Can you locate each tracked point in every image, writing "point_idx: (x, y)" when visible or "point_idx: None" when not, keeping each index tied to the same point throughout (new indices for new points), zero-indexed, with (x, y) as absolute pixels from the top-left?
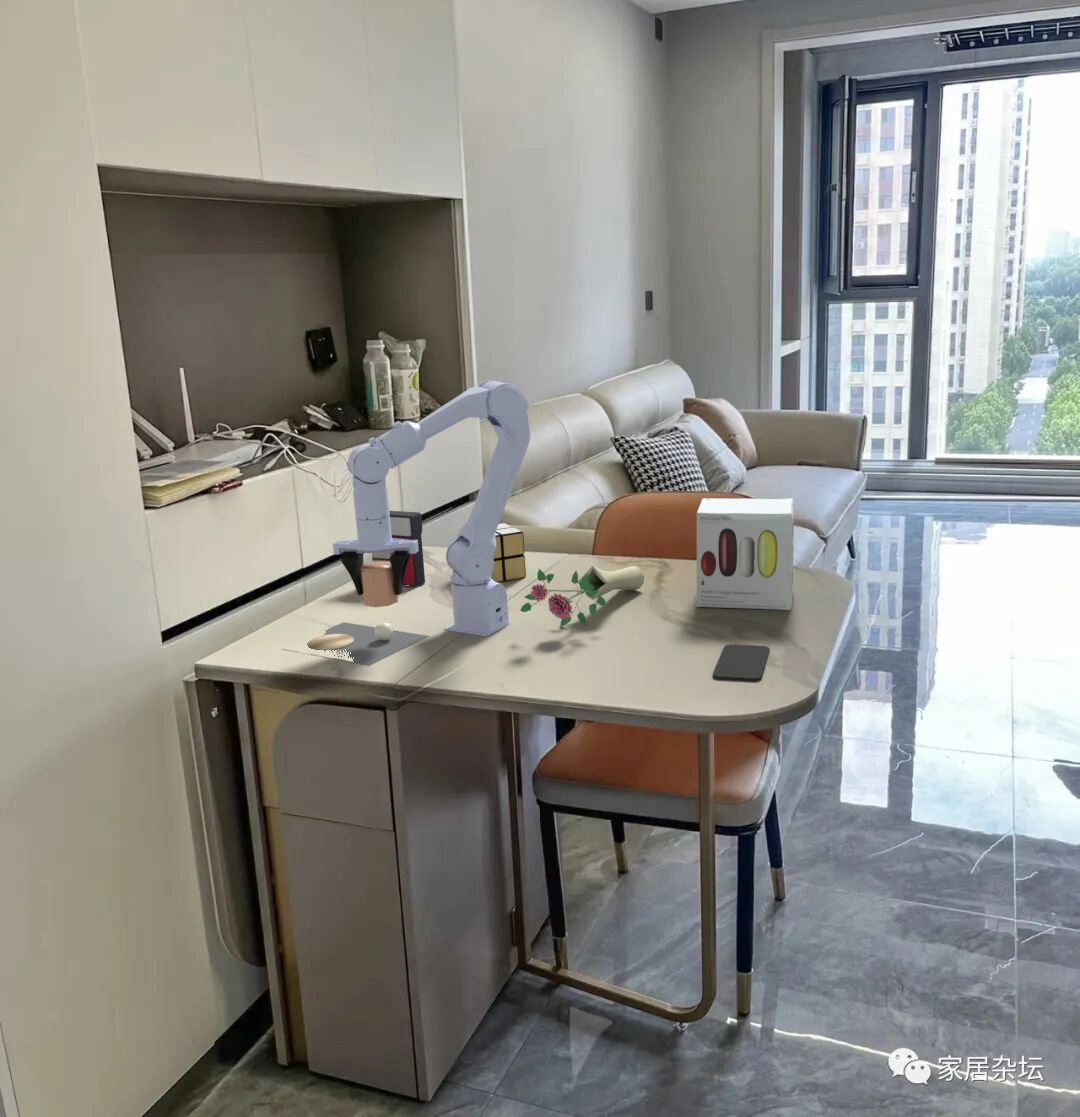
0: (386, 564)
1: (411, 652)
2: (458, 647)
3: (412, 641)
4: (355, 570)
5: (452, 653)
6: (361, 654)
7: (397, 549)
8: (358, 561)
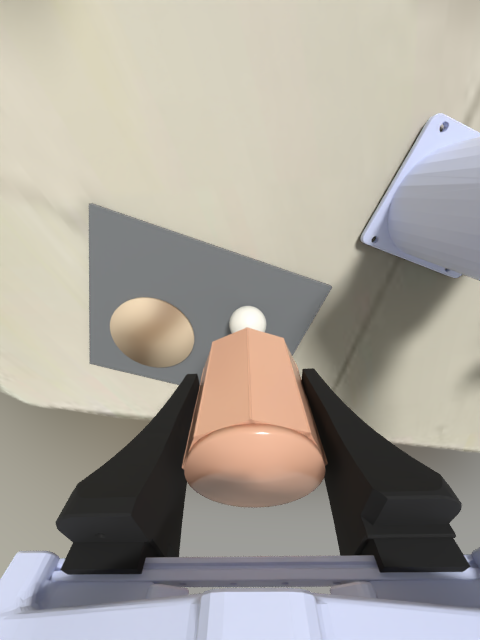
0: (289, 465)
1: (309, 351)
2: (390, 326)
3: (303, 318)
4: (184, 493)
5: (379, 350)
6: None
7: (395, 589)
8: (169, 505)
